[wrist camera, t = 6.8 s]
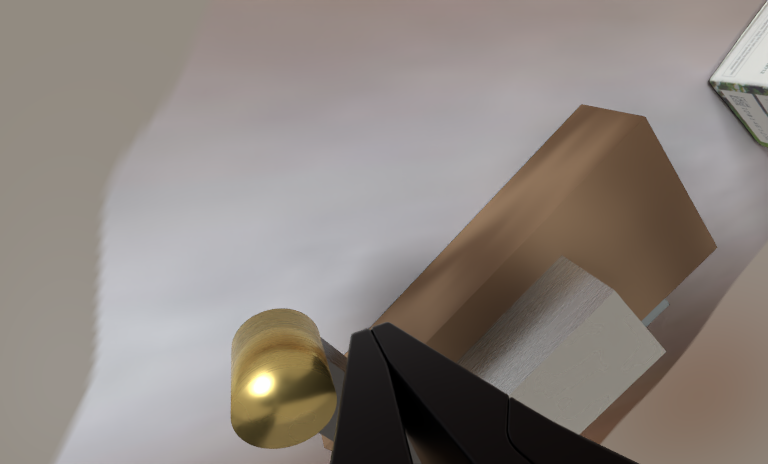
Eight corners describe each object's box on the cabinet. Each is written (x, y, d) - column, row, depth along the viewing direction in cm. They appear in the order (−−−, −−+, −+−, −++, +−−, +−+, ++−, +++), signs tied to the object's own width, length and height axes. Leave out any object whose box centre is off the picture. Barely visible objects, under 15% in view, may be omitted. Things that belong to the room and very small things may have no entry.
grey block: (511, 413, 18) (547, 464, 16) (447, 371, 16) (480, 423, 14) (613, 312, 18) (666, 351, 16) (561, 255, 16) (614, 290, 13)
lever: (477, 424, 18) (548, 538, 14) (440, 455, 18) (500, 578, 14) (270, 243, 12) (288, 350, 8) (216, 291, 12) (206, 421, 8)
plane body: (428, 447, 22) (454, 502, 20) (311, 389, 18) (324, 447, 16) (656, 220, 21) (717, 247, 18) (581, 104, 17) (645, 116, 14)
